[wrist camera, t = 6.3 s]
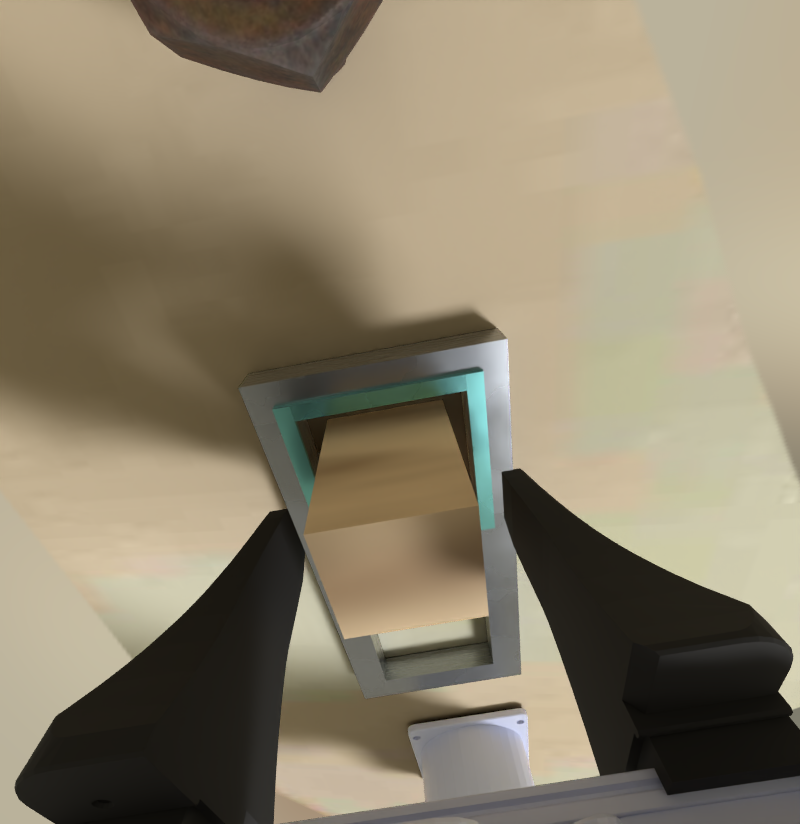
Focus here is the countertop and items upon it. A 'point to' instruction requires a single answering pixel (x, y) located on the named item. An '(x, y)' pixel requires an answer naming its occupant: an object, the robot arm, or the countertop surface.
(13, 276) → the countertop surface
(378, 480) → the oak block
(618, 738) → the robot arm
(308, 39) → the bolt
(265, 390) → the grey peg insertion board
